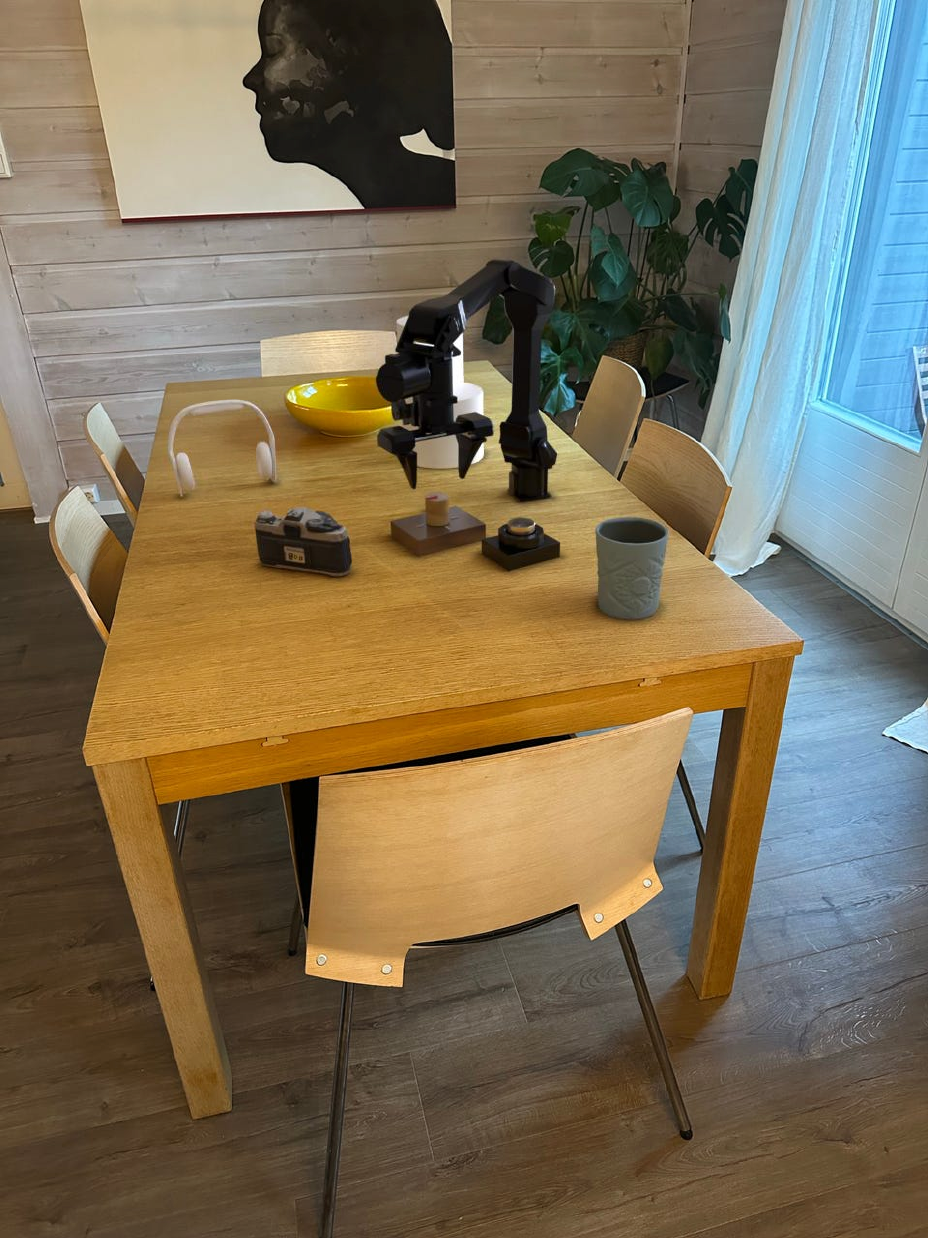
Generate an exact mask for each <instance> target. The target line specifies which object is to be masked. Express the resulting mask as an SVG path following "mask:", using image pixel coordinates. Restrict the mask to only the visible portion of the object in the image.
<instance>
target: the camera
mask: <svg viewBox="0 0 928 1238" xmlns="http://www.w3.org/2000/svg"><path fill="white" fill-rule="evenodd" d="M254 529H255V539H256V547H257V553H258V558H259V563H260V565H262V566H266V567H271V568H277V569H287V570H291V571H292V570H293V571H300V572H310V573H311V572H312V573H316V574H324V575H328V576H331V577H343V576H347V575H348V574H349V573H350V570H351V565H352V563H353V560H352V554H351V553H352V552H351V551H352V550H351V545H350V544H351V539H350V537H349V535H348V532H347V528H346V526H344V525H342V524H340V523H339V521H337V520H336V519H334V518H333V516H332V515H330V513H327V512H325V511H322V510H316V511H315V510H313V509H312V508H309V507H307V506H299V505H298V506H296V507H294V508H290V509H289V510H287V512H286V516H284V517H281V516H275V514H273V513H272V511H271V510H267V509H263V510H261V511H260V512H258V515H257V517H256V519H255V520H254Z"/></svg>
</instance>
